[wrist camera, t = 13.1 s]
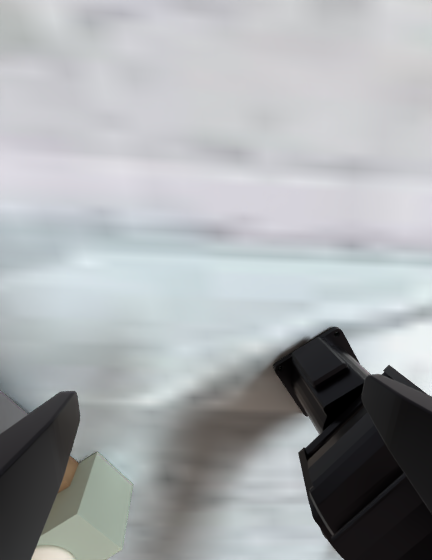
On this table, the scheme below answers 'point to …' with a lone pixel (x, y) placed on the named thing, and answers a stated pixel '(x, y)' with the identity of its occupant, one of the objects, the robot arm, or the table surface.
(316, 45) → the table surface
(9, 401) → the grey block with handle
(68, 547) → the gauge cabinet
